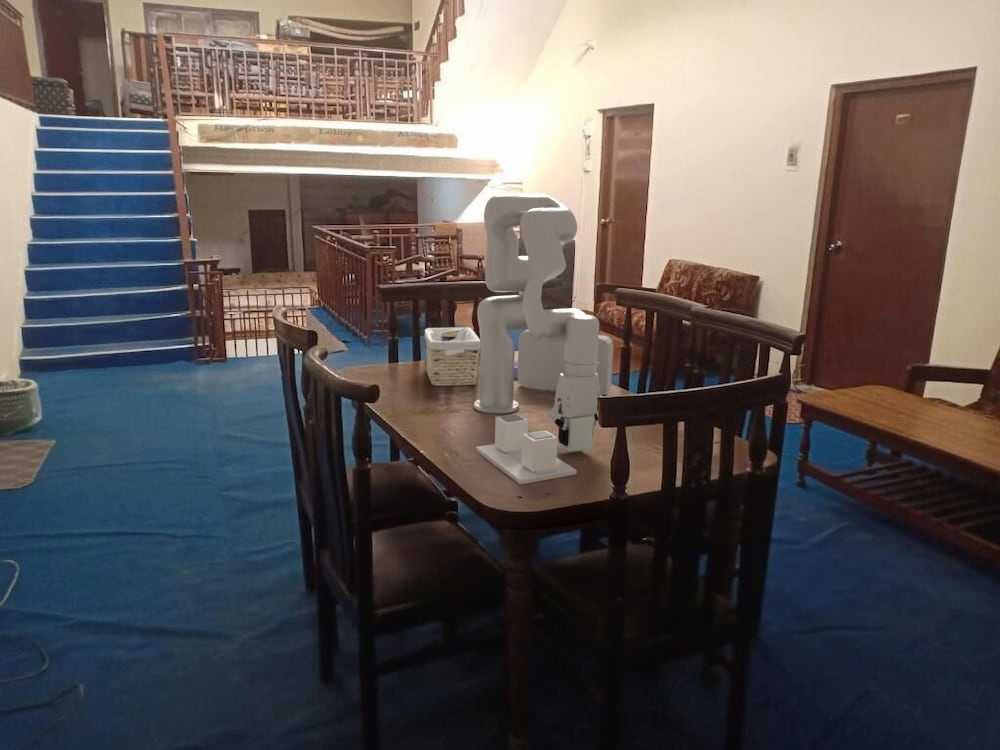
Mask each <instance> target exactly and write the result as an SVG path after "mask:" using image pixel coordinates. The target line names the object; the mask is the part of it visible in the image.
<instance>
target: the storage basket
mask: <svg viewBox="0 0 1000 750" xmlns="http://www.w3.org/2000/svg"><path fill="white" fill-rule="evenodd" d="M442 337H448V338H450V337H451V338H452V339H450V340H445V341H444V340H443V338H442ZM424 340H425V359H426V375H427V377H428V379H429V381H430V384H431V385H432V386H435V387H436V386H437V387H438V386H440V387H441V386H442V387H446V386H447V387H450V386H456V387H459V386H474V385H476V383H477V379H478V372H479V371H478V369H479V368H478V367H479V360H480V337H479V336H478V335H477V334H476V332H475V331H474V330H473V329H472V328H471V327H469V326H468V327H427V328H425V329H424Z"/></svg>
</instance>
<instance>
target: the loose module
mask: <svg viewBox="0 0 1000 750" xmlns="http://www.w3.org/2000/svg"><path fill="white" fill-rule="evenodd" d="M564 420H565V418H564ZM593 420H594V416H593V415H588V416H581V417H574V418H569V424H568V427H567V429H568V430H569V436H568V446H564V445H563V444H561V443H559V442H558V445H559V446H560V447H562V448H563V449H565V451H566V450H567V452H572V453H573V452H575V451H577V452H578V451H581V450H587V449H588V450H590V449H592V448H593V437H592V435H593V436H594V427H593ZM563 422H564V421H563Z"/></svg>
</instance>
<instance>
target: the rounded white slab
mask: <svg viewBox="0 0 1000 750" xmlns="http://www.w3.org/2000/svg"><path fill="white" fill-rule="evenodd" d="M564 350H565V341H554V342H538V341H536V340H535V339H534V338H533V337H532V336H531V334H530V332H529V329H525V330H523V331H522V332H521V333H520V334H519V337H518V356H517V358H518V359H517V361H518V379H517V382H518V384H519V385H520V386H521V387H523V388H526V389H531V390H539V389H540V390H539V391H546V390H550V391H549V392H554V391H556V388H557V383H558V379H559V376H560V374H561V373H563V368H564ZM613 361H614V341H613V340H612V338H611V337H610V336H607V335H600V334H599V336H598V351H597V362H600V367H597V369H596V373H597V374H598V379H599V388H600V395H604V396H605V395H606V394H607V393H608V392H609V391H610V390H611V387H612V378H613V377H612V375H613V373H612V372H613Z"/></svg>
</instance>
